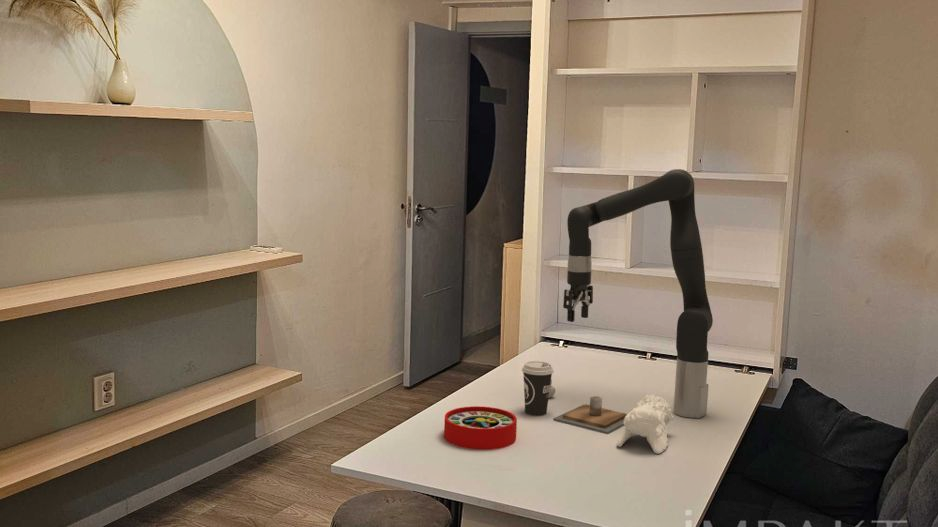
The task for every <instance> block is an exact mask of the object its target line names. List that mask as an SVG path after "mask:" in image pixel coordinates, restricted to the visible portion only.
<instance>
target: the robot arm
mask: <svg viewBox="0 0 938 527" xmlns="http://www.w3.org/2000/svg"><path fill="white" fill-rule="evenodd" d="M667 201H668V205H669V209H670V210H669V211H670V218H671V221H670V239H669V240H670V242H669V248H670V254H671V262H672V266H673V270H674V273H675V276H676V279H677V281H678V283H679V286H680V288H681V293H682V302H683V303H682V304H683V311H682V312H681V313H680V315H679V316H678V319H677V323H676V338H675V339H676V340H675V341H676V342H675V348H676V368H675V369H676V370H675V381H674V395H673V396H674V397H673V408H672V409H673V411H672V412H673V413H674V414H675V415H677V416H679V417H683V418H693V419H695V418H696V419H701V418H703V417H704V416H706V415H707V413H708V412H707V411H708V402H709V400H708V398H709V386H710V385H709V384H708V383H707V380H708V379H707V378H708V366H709V354H710V353H709V351H708V334H709V332H710V331H711V329H712V326H713V323H714V320H713V314H712V310H711V306H710V302H709V297H708V292H707V286H706V271H705V263H704V254H703V247H702V246H703V245H702V240H701V233H700V230H699V224H698V220H697V215H696V207H695V205H696V204H695V181H694V178H693V176H692V175H691V173H690V172H689V171H687V170H685V169H681V168H680V169H679V168H678V169H677V168H675V169H671V170H668V171H667V172H665V173H664V174H663V175H661V176H659V177H657V178H655V179H654V180H651V181H650V182H648V183H645V184H643V185H641V186H637V187H634V188H630V189H627V190H624V191H621V192H617V193H615V194H611V195H608V196H606V197H604V198H601V199H599V200H598V201H595V202H591V203H589V204H586V205H581V206H577V207H574V208H572V209H571V210H570V211H569V212H568V215H567V221H566V222H567V223H566V224H567V232H568V233H567V234H568V240H569V241H568V242H569V243H568V244H569V245H568V259H567V277H566V279H567V282H566V283H567V285H569V286H570V288H569V289H567V288H566V289H564V290H563V291H564V292H563V305H562V306H563V307H562V308H563V309H566V310H567V311H566V312H567V314H566V317H567V318H566V320H567V322H570V323H572V322H573V323H574V322H575V315H576V314H575V313H576V311H575V309H576V307H577V305H579V303H580V304H581V306H580V307H581V309H580V311H581V312H580V316H581V318H583V319H588V318H589V307H590V306H591V304H593V301H594V291H593V290H594V287H593V285H591V283H592V239H591V238H590V230H589V228H590V227H593V226H595V225H598V224H600V223H602V222H606V221H610V220H613V219H617V218H619V217H623V216H624V215H629V214H630V213H632V212H635V211H637V210H639V209H641V208H644V207H647V206H650V205H653V204H657V203H661V202H667Z"/></svg>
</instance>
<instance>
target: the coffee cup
mask: <svg viewBox="0 0 938 527" xmlns="http://www.w3.org/2000/svg"><path fill="white" fill-rule="evenodd" d="M521 371H522V373H523V387H524V388H523V389H524V390H523V391H524V392H523V394H524V412H525V414H527V415H529V416H535V417H536V416H544V415H546V414H547V412H548V405H549V404H548V403H549V390H550V383H551V380H552V375H553V373H554V368H553V367H552V364H551V363H550V362H548V361H541V360H540V361H539V360H531V361H529V360H528V361H526V362H525V363H524V365H523V366H522V368H521Z"/></svg>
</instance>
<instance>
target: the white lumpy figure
mask: <svg viewBox="0 0 938 527" xmlns="http://www.w3.org/2000/svg"><path fill="white" fill-rule="evenodd" d="M671 407H672V405H671V404H670V403H668V402H667V400H666V399H664V398H662V397H661V396H655V395H654V394H650V395H648V394H645V395H644V396H643V397H642V399H641V400H638V401H637V402H636V404H635V406H634V408H633V409H631V411H629V413H627V415H626V416H625V419H624V423H623V424H624V431H623V434H621V436H620V438H619V439H618V440H617V442H616V446H617V447H619V448H621V447H622V445H623V444H625V443H626V442H627V441H628V440H629V439H630V438H632V437H633V436H634V435H636V436H640V437H642V438H646V440H647V442H648V444H649V445H650V447H651V449H652V451H653V452H654V453H655V454H657V455H659V454H661V453H663V451H666V450H667V447H668V446H669V443H668V442H669V439H668V432H667V425H668V424H669V423H670V422H671V421H674V419H675V417H674V416H673V414H672V412H673V411H672V408H671Z"/></svg>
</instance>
